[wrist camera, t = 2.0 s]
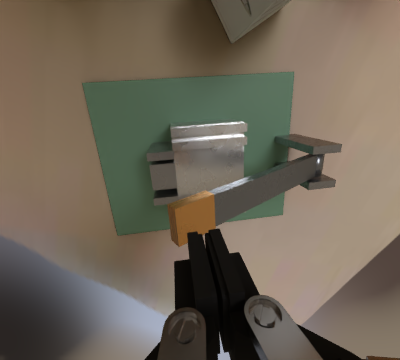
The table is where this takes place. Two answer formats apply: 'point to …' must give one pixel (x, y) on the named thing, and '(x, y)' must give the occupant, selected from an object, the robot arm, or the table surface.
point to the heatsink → (215, 158)
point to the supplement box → (245, 14)
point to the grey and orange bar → (238, 197)
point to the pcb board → (174, 113)
